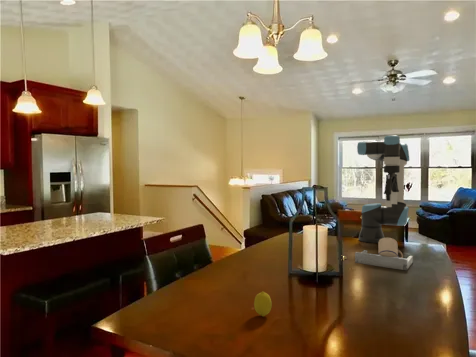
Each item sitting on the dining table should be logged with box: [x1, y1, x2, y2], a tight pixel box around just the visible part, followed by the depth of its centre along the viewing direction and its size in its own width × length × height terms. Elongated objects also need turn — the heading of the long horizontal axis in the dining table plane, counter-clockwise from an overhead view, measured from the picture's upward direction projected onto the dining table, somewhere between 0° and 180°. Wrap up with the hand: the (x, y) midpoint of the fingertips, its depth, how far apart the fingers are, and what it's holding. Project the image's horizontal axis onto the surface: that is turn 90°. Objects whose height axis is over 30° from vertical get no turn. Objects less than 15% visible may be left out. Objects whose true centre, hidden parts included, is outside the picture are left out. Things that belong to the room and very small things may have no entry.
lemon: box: [253, 291, 272, 318], centre depth 108 cm, size 6×6×8 cm
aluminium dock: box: [354, 249, 414, 271], centre depth 167 cm, size 16×23×5 cm
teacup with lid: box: [377, 237, 404, 258], centre depth 165 cm, size 12×9×12 cm
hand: (391, 205), depth 180 cm, fingers open, 13 cm apart
